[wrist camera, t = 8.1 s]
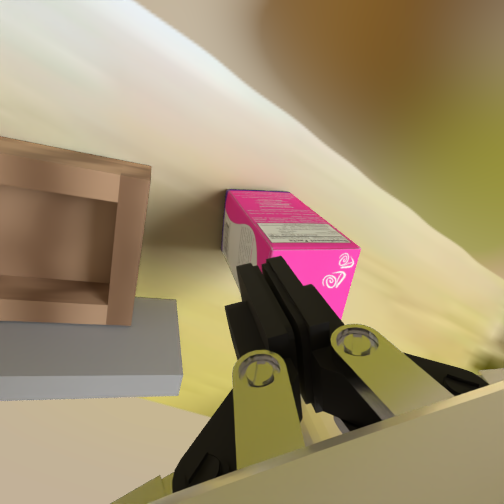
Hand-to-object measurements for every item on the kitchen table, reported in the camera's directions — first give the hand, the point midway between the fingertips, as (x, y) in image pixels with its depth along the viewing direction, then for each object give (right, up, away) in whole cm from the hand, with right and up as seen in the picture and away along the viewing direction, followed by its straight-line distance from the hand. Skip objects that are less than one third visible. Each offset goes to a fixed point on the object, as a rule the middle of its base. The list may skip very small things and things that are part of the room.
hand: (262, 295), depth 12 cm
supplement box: (0, +4, +17) cm, 17 cm away
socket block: (-15, +3, +13) cm, 20 cm away
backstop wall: (-15, -3, +16) cm, 22 cm away
